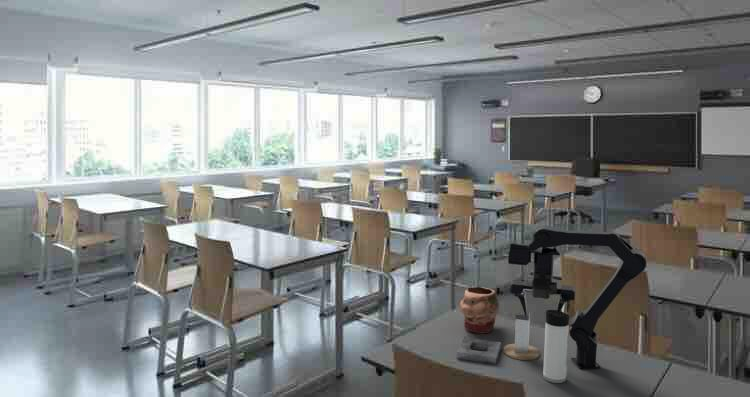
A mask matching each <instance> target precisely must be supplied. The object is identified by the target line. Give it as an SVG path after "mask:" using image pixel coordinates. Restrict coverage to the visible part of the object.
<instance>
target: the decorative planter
mask: <svg viewBox="0 0 750 397" xmlns="http://www.w3.org/2000/svg"><path fill="white" fill-rule="evenodd" d="M499 304H500V303H499V300H498V294H497V291H496V290H494V289H491V288H487V287H482V286H480V287H479V286H470V287H468V288H467V289H466V290H465V291H464V297H463V299H462V300H461V301H460V303H459V309H460V311H461V313H462V314H463V318H464V322H463V323H464V326H463V327H464V328H465V330H467V331H470V332H472V333H476V334H486V333H489V332H491V331H492V330H493V329H494V326H495V322H496V317H497V315H498V312H499V310H500V305H499Z"/></svg>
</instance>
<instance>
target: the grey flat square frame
mask: <svg viewBox="0 0 750 397" xmlns="http://www.w3.org/2000/svg"><path fill="white" fill-rule="evenodd" d="M501 349H502V342H500V341H492V340H485V339H478V338H472V337H463V339H462V341H461V343H460V345H459V347H458V349H457V350H456V359H459V360H465V361H466V360H467V361H471V362H478V363H479V362H480V363H487V364H492V365H497V362H498V359H499V357H500V356H499V354H500V352H501Z"/></svg>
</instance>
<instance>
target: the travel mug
mask: <svg viewBox="0 0 750 397" xmlns="http://www.w3.org/2000/svg"><path fill="white" fill-rule="evenodd" d="M544 324H545V327H544V330H545V331H544V345H543V348H544V351H543V370H542V371H543V373H542V377H543V379H544V380H546V381H547V382H550V383H554V384H561V383H564V382H566V381H567V370H568V369H567V368H568V350H569V349H568V348H569V334H570V315H569V314H568V313H565V312H564V311H562V310H561V311H557V309H547V310H546V311H545V323H544Z"/></svg>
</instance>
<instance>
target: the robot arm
mask: <svg viewBox="0 0 750 397" xmlns="http://www.w3.org/2000/svg"><path fill="white" fill-rule="evenodd" d="M564 245H565V246H566V245H571V246H574V245H575V246H594V247H596V246H597V247H598V246H599V247H608V248H610V249H611V251H613V252H614V254H615V255H616V256H617V257H618V258H619V259H620V261H619V263H618V266H617V268H616V270H615V272H614V274H613V275H612V277H611V278H610V279H609V281H608V282H607V283H606V284H605V285H604V287H603V288H602V290H600V292H599V293H598V294H597V296H596V297H595V298H594V300H593V301H592V302H591V303H590V304H589V306H588V307H587V308H586V309H585V310H583V311H582V310H580V309H577V311H576V313H575V314H574V316H572V317H571V318H570V321H569V335H570V338H571V339H572V340H573V341H574V342H575V344H576V346H575V347H576V348H575V350H576V351H575V357H571V358H570V360H571V362H573V363H574V365H575V366H577V367H578V369H581V370H582V369H601V365H600V364H599V363H598V362H597V350H598V349H597V348H598V335H599V334H597V332H596V331H595V328H596V325H597V323H598V320H599V319H600V318H601V317H602V316H603V314H604V313H605V311H606V310H607V309H608V307H609V306H610V305H611V304H612V303H613V301H614V300H615V298H616V297H617V296H618V295H619V294H620V293H621V291H622V290H623V289H624V287H625V286H626V285H627V284H628V283H629V282H631V281H633V280H634V279H636V278H637V277H638V276H639V275H640V274H641V273H642V272H643V271H645V270H646V268H647V260H646V259H647V258H646V256H645V254H644V252H643V251H641V250H640V249H639V248H634V247H632V245H631V244H629V243H628V242H627V240H625V239H623V238H622V237H621V236H620V234H618V233H617V232H616V231H613V230H609V231H596V230H595V231H594V230H593V231H591V230H589V231H588V230H569V229H562V228H561V227H560V228H559V227H556V226H552V225H546V224H545V225H541V226H539V227H538V229H537V230H536V232H535V233H534V237H533V239H532V240H530V241H529V243H528V244H526V243H518V242H515V241H514V242H511V243H510V246H509V252H508V256H507V259H508V260H507V263H508V265H512V266H523V267H528V266H529V265H530V264H532V261H533V269H532V270H533V271H532V274H533V275H532V281H531V285H530V284H526V281H525V280H518V279H517V280H516V279H515V280H514V279H513V280H512V281H511V283H510V285H509V286H510V287H509V294H513V295H514V297H517V298H518V299H519V301H520V304H521V306H522V311H524V314H525V315H526V314H527V311H528V308H527V307H528V306H527V292H531V293H532V297H533V298H535V299H544V300H548V299H550V295H551V296H554V295H556V296H557V295H558V296H559V297H558V302H557V308H556V310H557V311H562V309H563V307H564V305H565V304H566V303H570V301H575V299H576V298H575V297H576V288H575V286H573V285H565V284H561V288H560V287H558V282H554V281H553V279H554V276H553V275H554V262H555V260H554V258H555V256H560V255H561V249H559V248H558V247H560V246H564Z"/></svg>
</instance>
